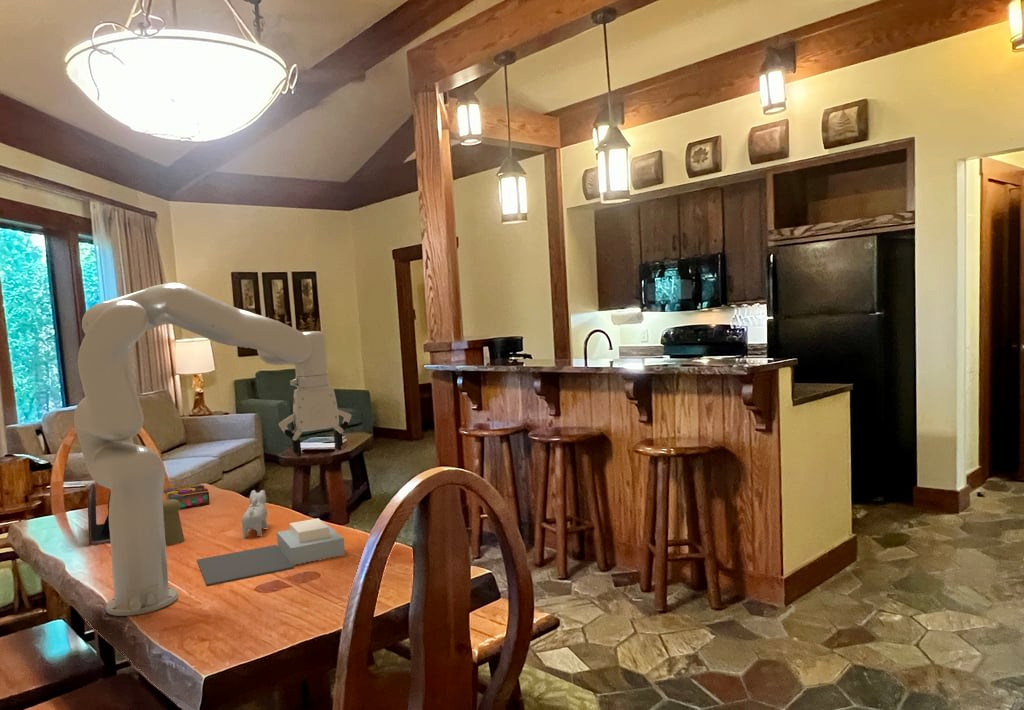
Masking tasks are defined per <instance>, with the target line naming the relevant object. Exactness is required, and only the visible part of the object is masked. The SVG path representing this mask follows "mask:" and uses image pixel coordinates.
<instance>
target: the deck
mask: <svg viewBox="0 0 1024 710" xmlns="http://www.w3.org/2000/svg"><path fill="white" fill-rule="evenodd" d="M324 523H325V524H326V525H327V526H328V527H329V535H330V537H328V538H323V539H318V540H312V541H307V542H302V543H299V542H298V541H297V540H296V539H295V538H294V537H293V536H292V535H291V534H290V529H287V530H282V531H276V539H277V541H276V542H277V546H278V548H279V549H280V550H281V551H282V552H283V554H284V555H285V556H286V557H287V559H288V560H289V561H290V562H291V563H292V565H294V566H297V565H296V564H299V565H302V564H301V563H304V564H307V563H306V562H309V563H311V562H310V561H314V562H316V561H315V560H318V561H321V560H320V559H323V560H327V559H326V558H328V559H331V557H333V558H338V557H342V556H345V555H346V554H345V539H344V537H343V536H342V535H341V534H340V533H338V532H337V531H336V530H335V529H333V528H332V527H331V526H329V524H327V523H326V522H324ZM337 556H338V557H337Z"/></svg>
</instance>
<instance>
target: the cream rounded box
mask: <svg viewBox="0 0 1024 710" xmlns="http://www.w3.org/2000/svg"><path fill="white" fill-rule="evenodd" d="M325 523H326V522H324V521H323V520H321V519H320V518H319V517H318V518H312V519H305V520H300V521H295V522H290V523H289V530H290V534H291V535H292V536H293V537H294V538H295V539H296V540H297V541H298V542H299V543H302V542H307V541H312V540H318V539H323V538H328V537H330V535H329V527H328V526H329V525H328V524H327V523H326V524H327V525H328V526H327V525H326V524H325Z"/></svg>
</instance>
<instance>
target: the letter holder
mask: <svg viewBox="0 0 1024 710" xmlns="http://www.w3.org/2000/svg"><path fill="white" fill-rule="evenodd" d="M96 496H97V495H96V483H92V484H90V487H89V489H88V495H87V519H88V520H87V521H88V523H87V524H88V546H89V547H91V546H90V545H94V546H99V545H98V544H101V545H105V544H104V543H107V544H111V542H110V530H109V504H110V497H111V491H110V492H109V494H108V501H107V516H106V518H105V521H104V523H101V524H98V523H97V502H96V500H97V497H96Z"/></svg>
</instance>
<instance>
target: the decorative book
mask: <svg viewBox="0 0 1024 710" xmlns="http://www.w3.org/2000/svg"><path fill="white" fill-rule="evenodd" d="M163 493H165V495H166V500H169V499H176V500H178V501H179V502H180V510H184V509H183V508H185V509H187V508H192V507H198V506H199V505H200V506H204V505H205V506H206V505H210V492H209V489H208V488H206V487H205V485H204V484H202V485H201V484H196V485H190V486H182V487H178V488H177V487H173V488H166V489H163Z"/></svg>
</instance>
